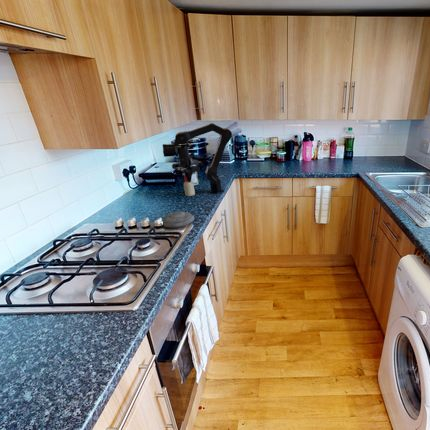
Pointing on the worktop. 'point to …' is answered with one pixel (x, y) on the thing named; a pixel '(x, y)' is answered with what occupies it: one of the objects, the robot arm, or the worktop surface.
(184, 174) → the robot arm
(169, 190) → the worktop surface
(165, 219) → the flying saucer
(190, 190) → the bottle
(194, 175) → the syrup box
